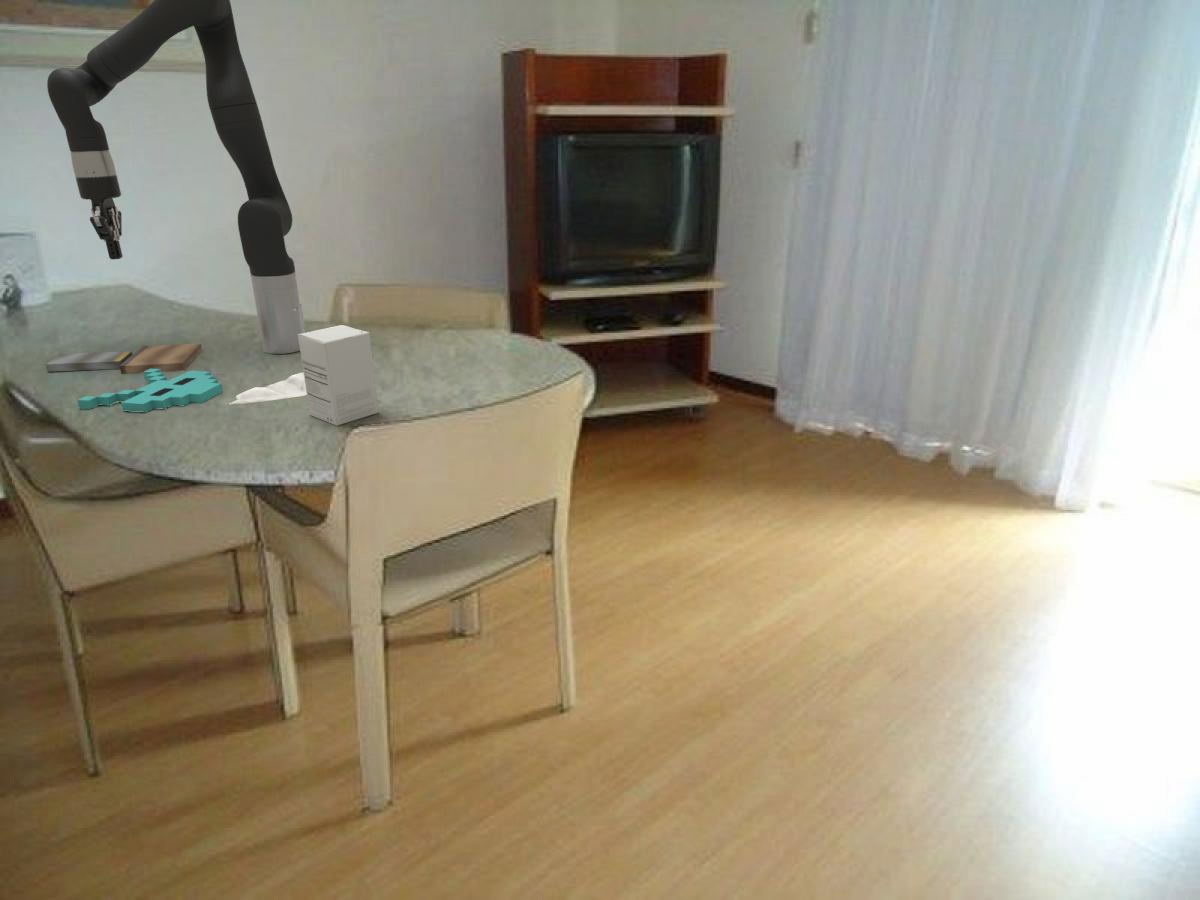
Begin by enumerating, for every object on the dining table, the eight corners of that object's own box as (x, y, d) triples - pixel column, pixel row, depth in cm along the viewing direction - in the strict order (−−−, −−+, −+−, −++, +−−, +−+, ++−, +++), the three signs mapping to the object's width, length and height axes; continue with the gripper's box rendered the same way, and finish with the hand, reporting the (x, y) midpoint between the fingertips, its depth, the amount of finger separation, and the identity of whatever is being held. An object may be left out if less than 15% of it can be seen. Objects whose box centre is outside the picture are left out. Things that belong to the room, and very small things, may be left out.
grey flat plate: (133, 358, 180) (131, 351, 180) (121, 368, 173) (119, 361, 172) (62, 361, 178) (61, 353, 177) (47, 371, 170) (45, 364, 170)
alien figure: (80, 411, 150) (179, 417, 147) (77, 399, 149) (177, 406, 146) (152, 379, 169) (242, 384, 165) (150, 368, 168) (240, 373, 165)
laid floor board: (202, 351, 186) (200, 342, 186) (184, 371, 172) (182, 362, 171) (145, 354, 184) (143, 345, 183) (121, 374, 170) (119, 365, 169)
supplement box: (351, 402, 153) (342, 323, 148) (380, 413, 148) (371, 331, 142) (307, 415, 147) (295, 333, 141) (335, 426, 141) (324, 341, 136)
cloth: (239, 415, 149) (237, 404, 148) (207, 398, 157) (204, 387, 156) (366, 384, 166) (364, 373, 165) (330, 370, 175) (329, 360, 174)
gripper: (105, 175, 166) (126, 262, 173) (124, 171, 178) (143, 253, 185) (64, 177, 165) (87, 264, 171) (86, 173, 177) (107, 255, 183)
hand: (116, 258), depth 178 cm, fingers closed
